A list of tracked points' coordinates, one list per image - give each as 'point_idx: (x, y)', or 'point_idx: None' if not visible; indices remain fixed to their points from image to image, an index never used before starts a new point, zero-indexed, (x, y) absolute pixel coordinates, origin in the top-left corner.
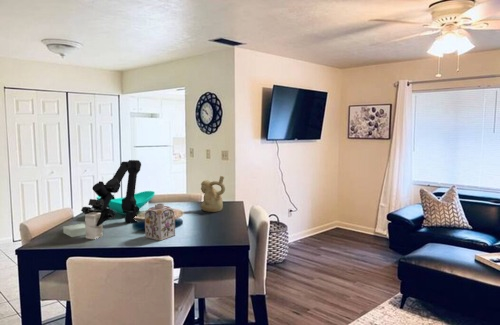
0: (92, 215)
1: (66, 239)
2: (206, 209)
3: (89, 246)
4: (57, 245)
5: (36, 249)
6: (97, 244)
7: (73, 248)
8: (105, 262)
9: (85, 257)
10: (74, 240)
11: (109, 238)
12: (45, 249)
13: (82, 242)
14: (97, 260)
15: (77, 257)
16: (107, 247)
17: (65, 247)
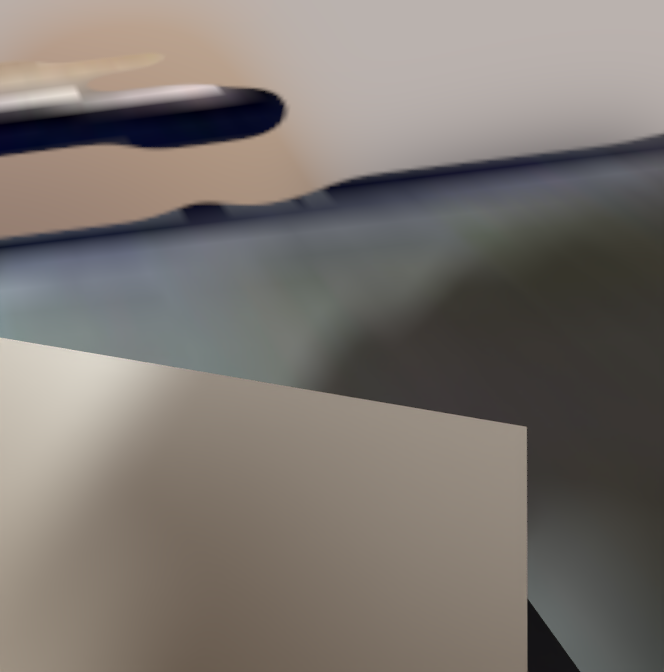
0: (42, 353)
1: (658, 451)
2: None
3: (215, 260)
4: (550, 246)
5: (638, 145)
6: (160, 317)
7: (332, 202)
8: (12, 61)
9: (149, 91)
10: (508, 420)
11: None
12: (558, 155)
13: (354, 358)
14: (62, 72)
15: (200, 84)
16: (44, 257)
17: (423, 212)
